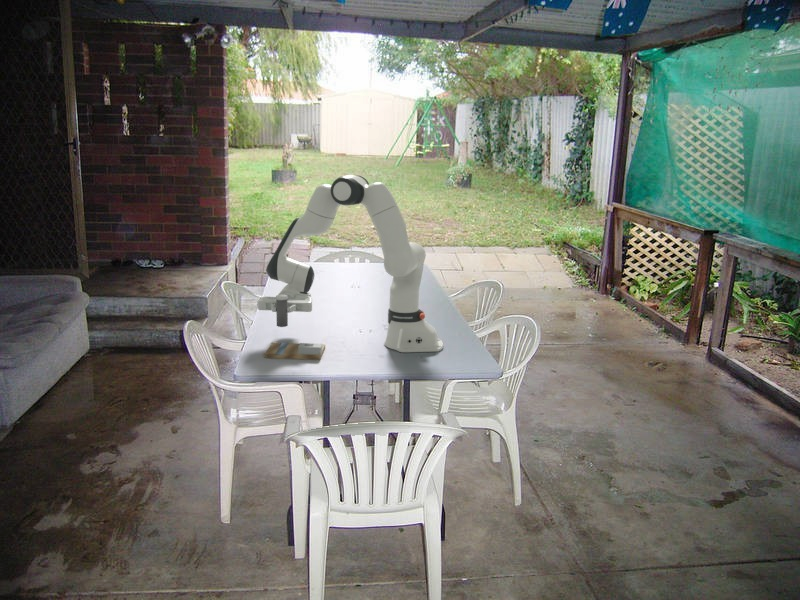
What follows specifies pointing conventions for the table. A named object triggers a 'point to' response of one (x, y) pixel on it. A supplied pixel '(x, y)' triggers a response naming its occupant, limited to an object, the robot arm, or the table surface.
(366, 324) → the table surface
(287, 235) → the robot arm
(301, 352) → the block
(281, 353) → the board
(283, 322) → the peg
